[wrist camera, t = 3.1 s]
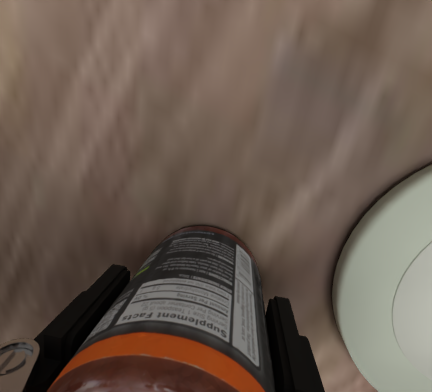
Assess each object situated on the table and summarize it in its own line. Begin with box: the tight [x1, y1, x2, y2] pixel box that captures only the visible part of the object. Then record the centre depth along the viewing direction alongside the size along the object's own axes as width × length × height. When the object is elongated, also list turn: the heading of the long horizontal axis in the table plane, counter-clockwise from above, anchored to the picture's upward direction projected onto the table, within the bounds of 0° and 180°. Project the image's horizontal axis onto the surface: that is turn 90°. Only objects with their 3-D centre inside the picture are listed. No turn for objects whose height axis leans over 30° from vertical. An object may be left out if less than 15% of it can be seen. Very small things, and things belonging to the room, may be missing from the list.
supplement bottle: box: [47, 226, 275, 392], centre depth 8 cm, size 6×6×11 cm
